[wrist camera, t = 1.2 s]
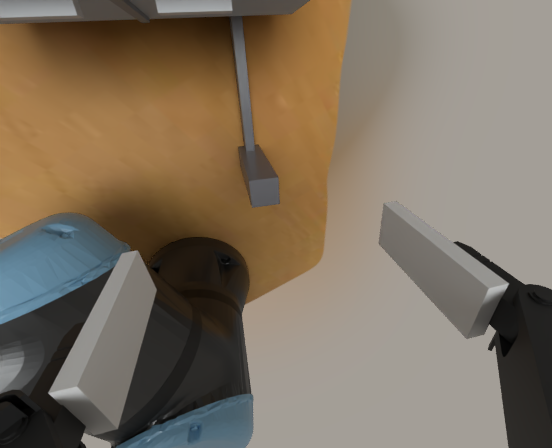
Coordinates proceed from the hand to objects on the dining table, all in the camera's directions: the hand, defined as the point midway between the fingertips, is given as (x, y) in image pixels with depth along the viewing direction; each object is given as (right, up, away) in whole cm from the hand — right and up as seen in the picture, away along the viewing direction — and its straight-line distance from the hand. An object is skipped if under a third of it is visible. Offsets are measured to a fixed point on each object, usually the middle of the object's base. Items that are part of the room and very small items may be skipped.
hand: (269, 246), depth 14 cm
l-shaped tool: (-3, +17, +15) cm, 22 cm away
